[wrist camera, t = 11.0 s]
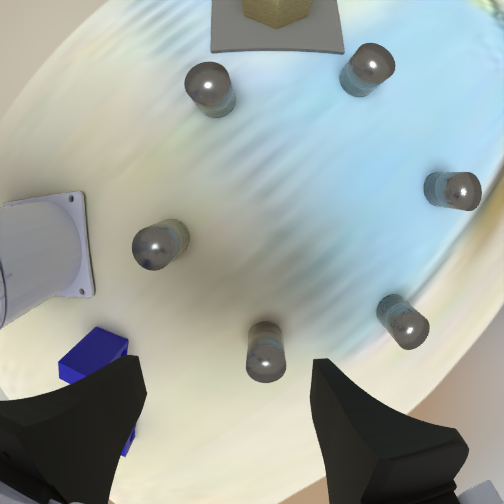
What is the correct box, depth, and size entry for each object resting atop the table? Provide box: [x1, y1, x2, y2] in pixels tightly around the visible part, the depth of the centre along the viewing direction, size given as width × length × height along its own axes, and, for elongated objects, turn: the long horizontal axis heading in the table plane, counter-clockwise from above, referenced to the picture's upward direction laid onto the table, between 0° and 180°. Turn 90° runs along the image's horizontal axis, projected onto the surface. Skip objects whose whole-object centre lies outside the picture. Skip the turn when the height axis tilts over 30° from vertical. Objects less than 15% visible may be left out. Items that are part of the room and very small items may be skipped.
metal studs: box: [132, 43, 482, 383], centre depth 17 cm, size 21×20×4 cm
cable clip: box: [58, 326, 136, 457], centre depth 20 cm, size 12×4×6 cm, turn 163°
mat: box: [211, 0, 345, 54], centre depth 16 cm, size 9×9×1 cm
